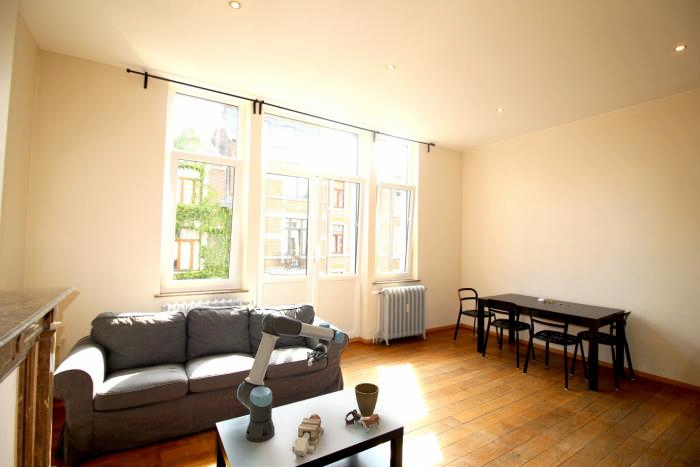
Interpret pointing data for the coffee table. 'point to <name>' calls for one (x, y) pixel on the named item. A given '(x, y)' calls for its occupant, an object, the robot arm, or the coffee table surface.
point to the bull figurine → (369, 421)
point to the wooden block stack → (308, 433)
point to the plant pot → (366, 398)
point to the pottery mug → (355, 417)
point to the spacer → (301, 446)
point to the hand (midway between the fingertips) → (309, 363)
